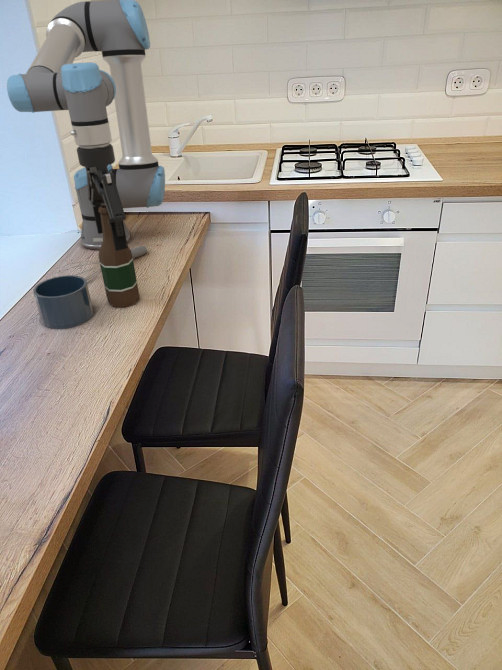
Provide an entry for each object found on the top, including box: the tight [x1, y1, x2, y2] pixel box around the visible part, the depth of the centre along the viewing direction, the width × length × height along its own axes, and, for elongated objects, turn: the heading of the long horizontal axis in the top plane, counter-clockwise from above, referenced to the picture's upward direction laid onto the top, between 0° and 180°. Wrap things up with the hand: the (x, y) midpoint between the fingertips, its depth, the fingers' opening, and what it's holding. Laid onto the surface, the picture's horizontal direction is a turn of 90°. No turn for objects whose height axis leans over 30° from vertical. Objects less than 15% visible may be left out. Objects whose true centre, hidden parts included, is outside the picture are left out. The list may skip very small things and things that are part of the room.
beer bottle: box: [98, 205, 140, 309], centre depth 124 cm, size 8×8×24 cm
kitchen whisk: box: [53, 244, 151, 284], centre depth 145 cm, size 6×34×6 cm, turn 145°
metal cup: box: [32, 274, 94, 330], centre depth 123 cm, size 12×12×8 cm
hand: (112, 240), depth 122 cm, fingers open, 13 cm apart
